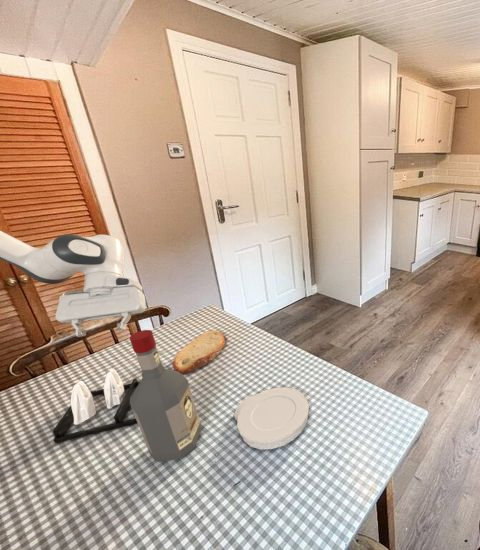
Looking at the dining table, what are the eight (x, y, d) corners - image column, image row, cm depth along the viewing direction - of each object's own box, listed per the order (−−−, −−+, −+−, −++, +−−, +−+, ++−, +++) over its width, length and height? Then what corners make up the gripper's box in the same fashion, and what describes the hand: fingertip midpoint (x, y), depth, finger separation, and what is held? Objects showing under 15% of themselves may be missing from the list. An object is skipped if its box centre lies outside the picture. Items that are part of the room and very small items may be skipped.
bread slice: (219, 332, 115) (217, 323, 113) (237, 353, 102) (235, 344, 101) (164, 351, 104) (162, 342, 102) (177, 378, 91) (174, 368, 90)
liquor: (146, 465, 66) (99, 351, 55) (165, 430, 74) (128, 324, 63) (191, 458, 67) (154, 346, 56) (205, 425, 76) (175, 321, 64)
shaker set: (78, 431, 74) (61, 396, 70) (70, 424, 76) (52, 390, 72) (131, 398, 84) (119, 365, 80) (123, 393, 86) (110, 361, 82)
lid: (265, 385, 88) (264, 376, 87) (322, 408, 80) (322, 399, 79) (215, 430, 74) (212, 421, 73) (278, 464, 66) (276, 454, 65)
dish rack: (55, 443, 71) (49, 434, 70) (87, 395, 85) (83, 387, 84) (148, 421, 77) (144, 412, 76) (163, 379, 91) (161, 371, 90)
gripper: (52, 288, 83) (46, 337, 78) (139, 278, 89) (138, 323, 85) (67, 296, 89) (62, 342, 84) (148, 286, 95) (147, 328, 90)
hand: (101, 332), depth 84 cm, fingers open, 8 cm apart
